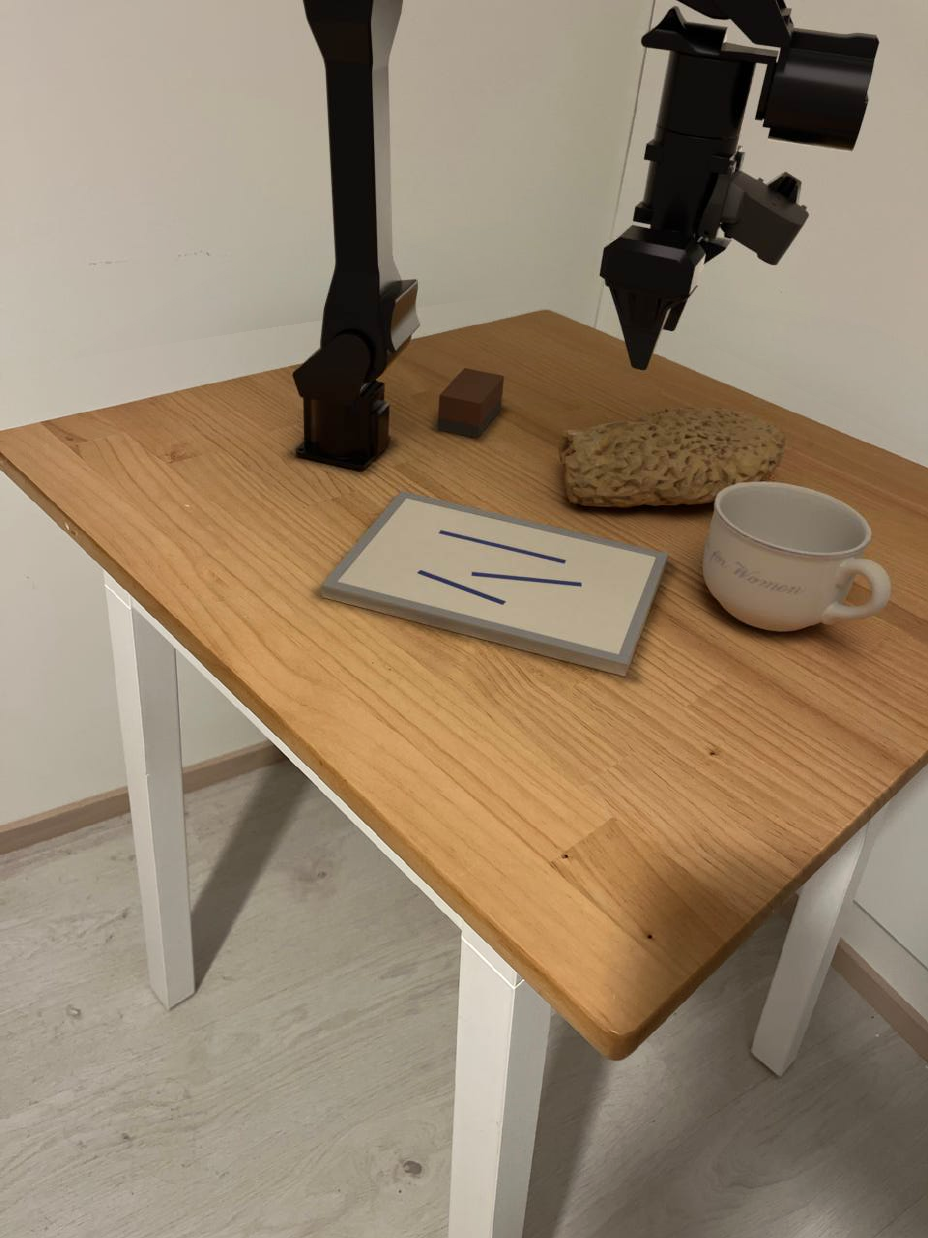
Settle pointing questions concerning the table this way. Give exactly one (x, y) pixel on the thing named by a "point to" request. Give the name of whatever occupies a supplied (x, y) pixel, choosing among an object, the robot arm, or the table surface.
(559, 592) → the whiteboard
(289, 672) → the table surface
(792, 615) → the teacup
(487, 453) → the table surface
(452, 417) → the eraser
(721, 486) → the sponge
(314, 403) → the robot arm
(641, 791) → the table surface
